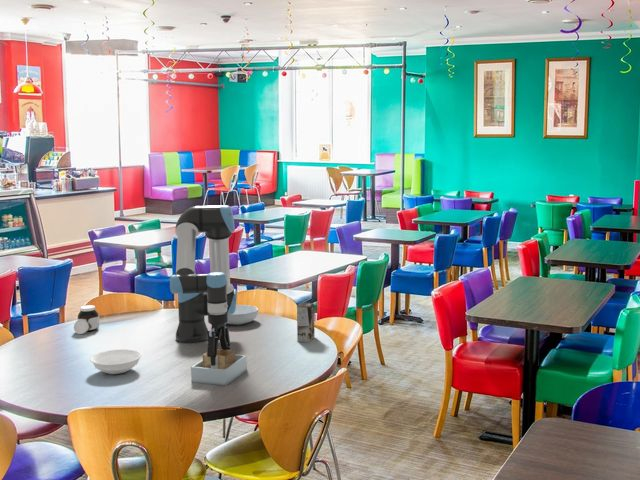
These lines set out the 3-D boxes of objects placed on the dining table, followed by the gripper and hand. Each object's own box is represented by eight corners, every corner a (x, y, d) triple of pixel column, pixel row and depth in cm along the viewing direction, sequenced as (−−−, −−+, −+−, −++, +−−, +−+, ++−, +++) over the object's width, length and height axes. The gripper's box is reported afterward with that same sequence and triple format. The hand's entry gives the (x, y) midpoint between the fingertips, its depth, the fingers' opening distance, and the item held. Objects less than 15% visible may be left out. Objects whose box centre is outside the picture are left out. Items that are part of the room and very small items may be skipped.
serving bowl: (267, 320, 382) (266, 307, 381) (241, 330, 365) (240, 316, 364) (234, 315, 393) (234, 302, 392) (207, 324, 376) (207, 311, 375)
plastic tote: (191, 382, 291) (190, 367, 290) (214, 366, 309) (213, 352, 308) (225, 385, 287) (225, 370, 286) (246, 370, 305) (246, 355, 304)
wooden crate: (203, 372, 295) (202, 354, 294) (212, 365, 303) (212, 348, 302) (226, 374, 292) (226, 356, 291) (235, 368, 300) (235, 350, 299)
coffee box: (310, 342, 342) (310, 307, 340) (297, 341, 344) (296, 306, 341) (315, 336, 351) (314, 302, 349) (301, 336, 352) (300, 302, 350)
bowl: (115, 383, 291) (114, 367, 290) (80, 375, 302) (79, 359, 301) (152, 369, 308) (152, 353, 307) (118, 361, 318) (117, 346, 317)
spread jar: (99, 327, 373) (98, 304, 372) (100, 333, 363) (99, 309, 361) (73, 329, 370) (72, 306, 368) (74, 335, 359) (72, 311, 357)
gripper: (214, 319, 283) (216, 378, 287) (237, 307, 303) (239, 362, 306) (196, 318, 286) (198, 377, 289) (220, 306, 305) (222, 360, 308)
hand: (219, 369), depth 297 cm, fingers closed on wooden crate, 8 cm apart
